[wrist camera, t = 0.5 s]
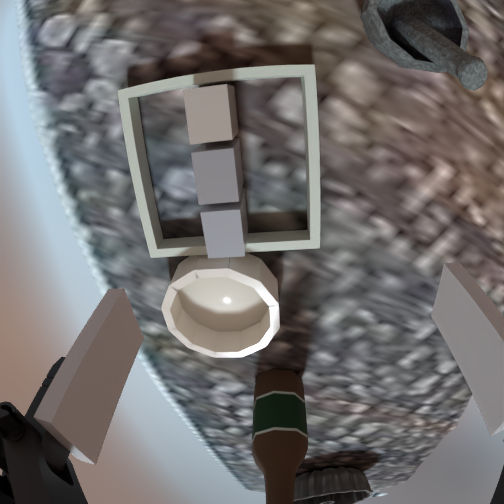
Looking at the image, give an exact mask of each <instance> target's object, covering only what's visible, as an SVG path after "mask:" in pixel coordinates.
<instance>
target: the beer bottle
mask: <svg viewBox="0 0 504 504" xmlns="http://www.w3.org/2000/svg"><path fill="white" fill-rule="evenodd" d="M307 449H308V434H307V421H306V409H305V398H304V388H303V382H302V379H301V378H300V377H299V376H298V375H297V374H296V373H294V372H293V371H292V370H287V369H276V368H274V369H271V370H269V371H266V372H264V373H262V374H259V375H258V378H257V381H256V385H255V391H254V408H253V431H252V455H253V457H254V460H255V463H256V465H257V466H258V467H259V468H260V470H261V471H262V472H263V474H264V479H265V488H266V504H294V488H295V477H296V471H297V469H298V468H299V466H300V465H301V463H302V462H303V460H304V458H305V455H306V452H307Z"/></svg>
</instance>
